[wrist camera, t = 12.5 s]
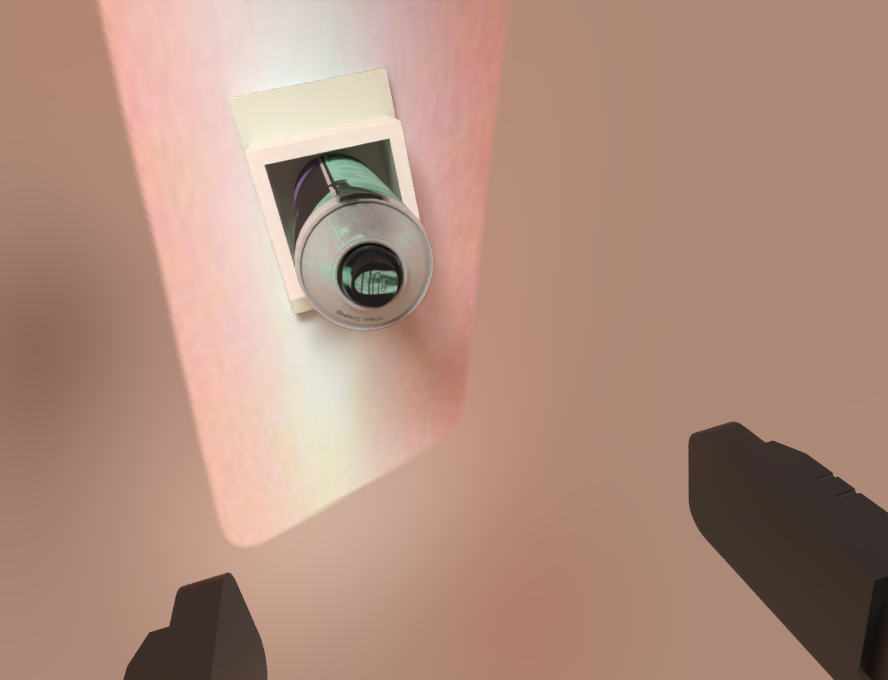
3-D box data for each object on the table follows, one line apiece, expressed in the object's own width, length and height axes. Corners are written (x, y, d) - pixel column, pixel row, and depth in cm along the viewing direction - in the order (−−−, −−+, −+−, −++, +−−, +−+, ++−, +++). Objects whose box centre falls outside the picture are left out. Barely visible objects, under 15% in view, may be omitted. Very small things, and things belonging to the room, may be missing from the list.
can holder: (229, 98, 37) (219, 101, 32) (383, 68, 38) (399, 66, 33) (293, 308, 43) (294, 342, 37) (424, 276, 44) (444, 304, 39)
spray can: (276, 177, 38) (263, 254, 20) (354, 136, 38) (409, 178, 20) (320, 252, 41) (343, 382, 23) (393, 214, 41) (473, 312, 23)
